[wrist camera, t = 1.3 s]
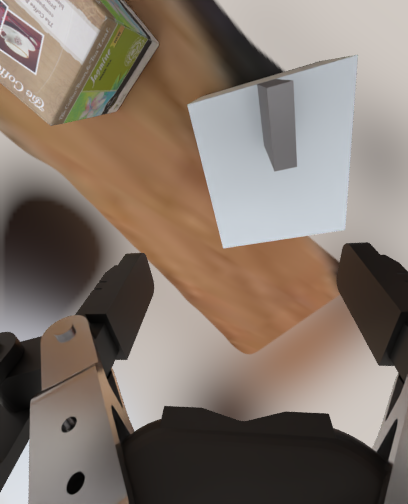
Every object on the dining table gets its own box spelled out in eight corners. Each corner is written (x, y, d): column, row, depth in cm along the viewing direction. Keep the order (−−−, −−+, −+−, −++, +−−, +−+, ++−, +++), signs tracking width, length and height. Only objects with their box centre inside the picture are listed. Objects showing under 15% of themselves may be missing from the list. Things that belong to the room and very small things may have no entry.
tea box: (163, 41, 28) (110, 17, 16) (117, 112, 33) (50, 133, 21) (40, -104, 23) (-169, -294, 11) (6, 5, 28) (-165, -47, 16)
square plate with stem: (188, 104, 23) (167, 116, 16) (354, 55, 20) (419, 44, 13) (223, 245, 32) (220, 293, 25) (343, 227, 28) (378, 276, 21)
